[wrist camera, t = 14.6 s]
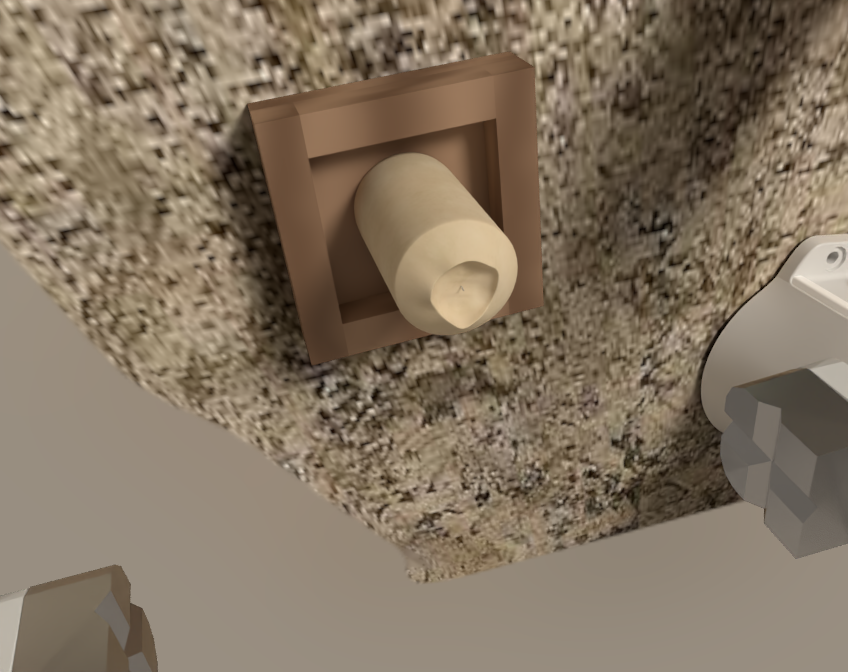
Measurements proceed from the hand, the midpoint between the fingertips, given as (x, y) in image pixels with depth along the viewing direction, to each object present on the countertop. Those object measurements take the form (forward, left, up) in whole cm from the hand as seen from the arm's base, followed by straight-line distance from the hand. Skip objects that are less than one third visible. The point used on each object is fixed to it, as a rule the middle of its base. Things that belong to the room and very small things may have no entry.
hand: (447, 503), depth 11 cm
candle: (-6, +10, -30) cm, 32 cm away
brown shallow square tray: (-6, +10, -31) cm, 33 cm away
